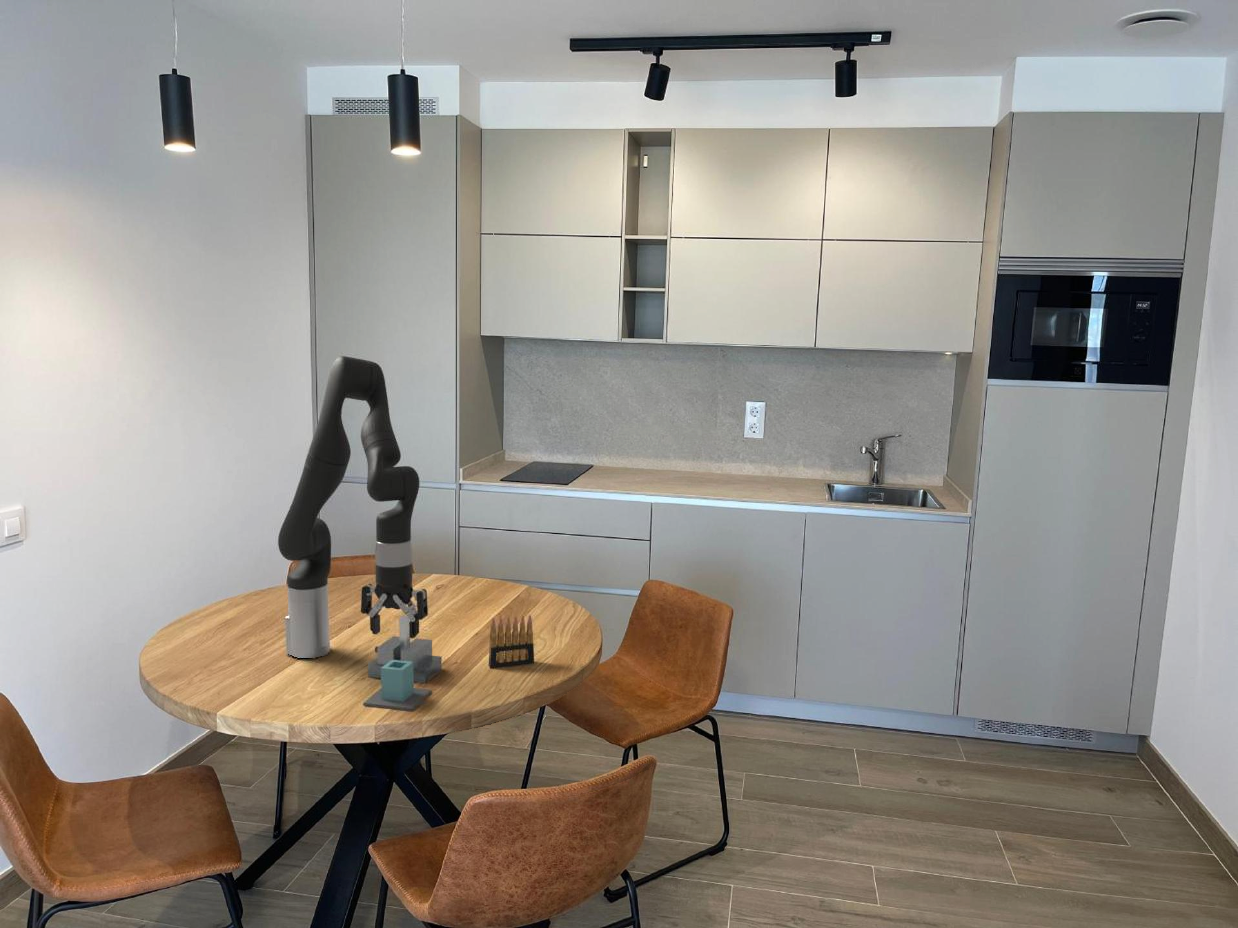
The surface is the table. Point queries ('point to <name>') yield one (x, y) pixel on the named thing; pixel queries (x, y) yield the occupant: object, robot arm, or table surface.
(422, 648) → the vise
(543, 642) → the table surface
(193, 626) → the table surface
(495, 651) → the ammunition clip
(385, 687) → the sleeve
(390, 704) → the mat
